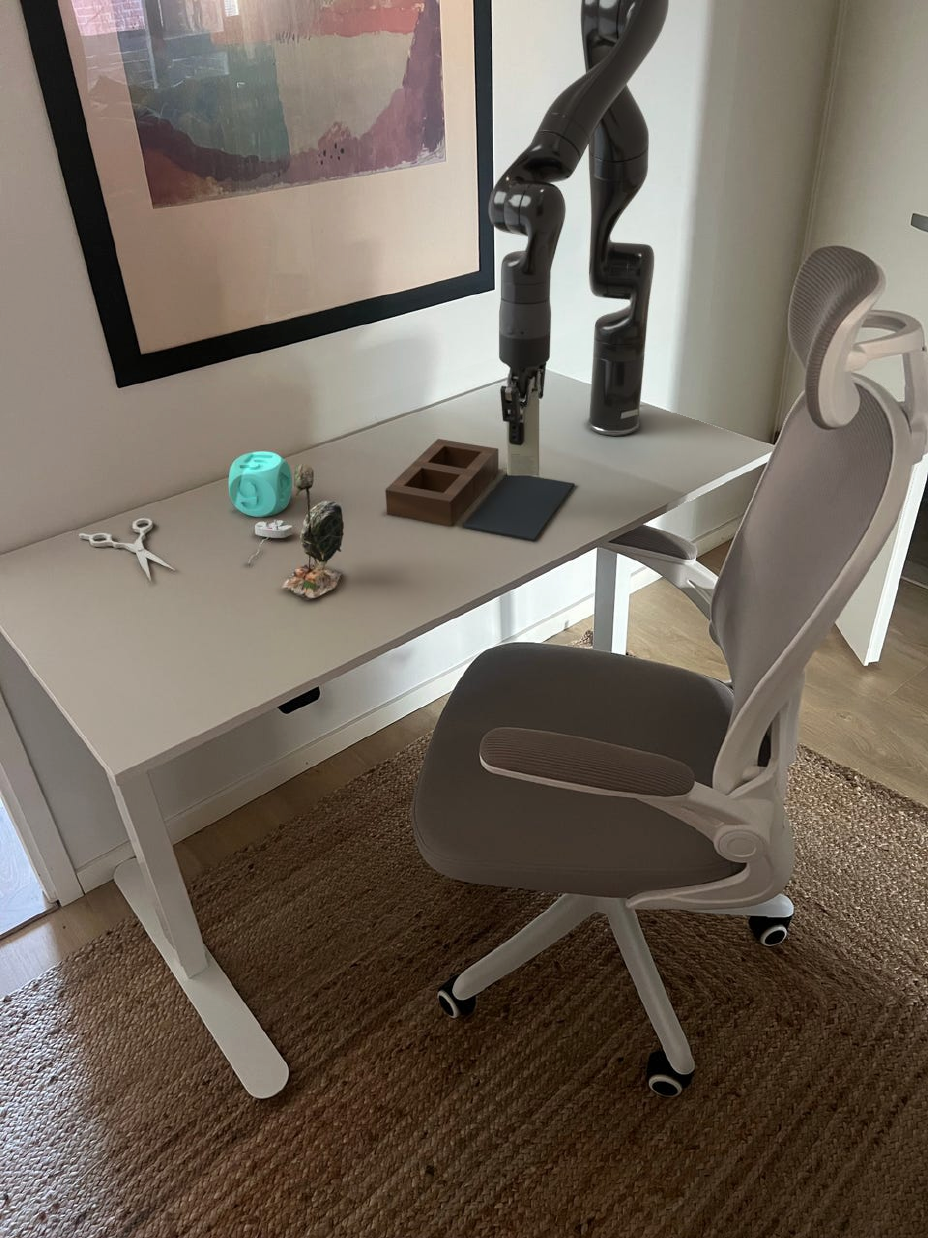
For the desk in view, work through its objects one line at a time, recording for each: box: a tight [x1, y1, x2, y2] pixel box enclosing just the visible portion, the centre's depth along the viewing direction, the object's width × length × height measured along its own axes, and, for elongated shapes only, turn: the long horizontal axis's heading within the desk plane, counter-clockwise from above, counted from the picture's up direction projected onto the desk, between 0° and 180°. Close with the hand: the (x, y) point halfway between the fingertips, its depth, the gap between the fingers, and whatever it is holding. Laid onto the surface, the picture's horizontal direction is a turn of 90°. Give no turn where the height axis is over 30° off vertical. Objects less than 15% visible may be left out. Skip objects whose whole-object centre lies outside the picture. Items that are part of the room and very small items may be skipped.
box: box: [505, 389, 540, 477], centre depth 153 cm, size 5×4×13 cm
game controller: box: [248, 519, 293, 565], centre depth 151 cm, size 6×12×3 cm, turn 2°
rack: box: [384, 438, 499, 527], centre depth 164 cm, size 21×11×4 cm, turn 157°
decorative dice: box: [228, 451, 293, 518], centre depth 161 cm, size 8×8×8 cm
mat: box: [462, 473, 575, 542], centre depth 161 cm, size 20×12×1 cm, turn 157°
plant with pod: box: [281, 463, 345, 601], centre depth 138 cm, size 8×11×20 cm
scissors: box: [78, 518, 176, 581], centre depth 151 cm, size 11×1×20 cm
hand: (522, 435), depth 153 cm, fingers closed on box, 5 cm apart
